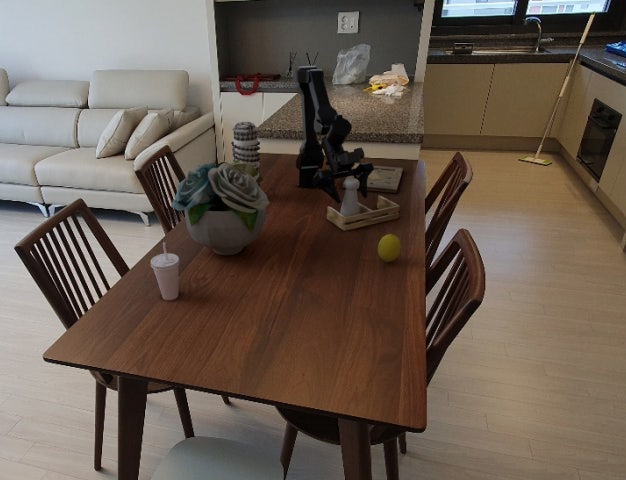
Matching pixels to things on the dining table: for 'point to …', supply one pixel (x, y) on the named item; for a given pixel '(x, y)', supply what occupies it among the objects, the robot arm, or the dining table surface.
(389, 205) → the rack
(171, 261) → the smoothie
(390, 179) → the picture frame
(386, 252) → the lemon
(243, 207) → the flower arrangement
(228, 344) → the dining table surface
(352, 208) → the salt shaker
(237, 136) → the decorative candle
